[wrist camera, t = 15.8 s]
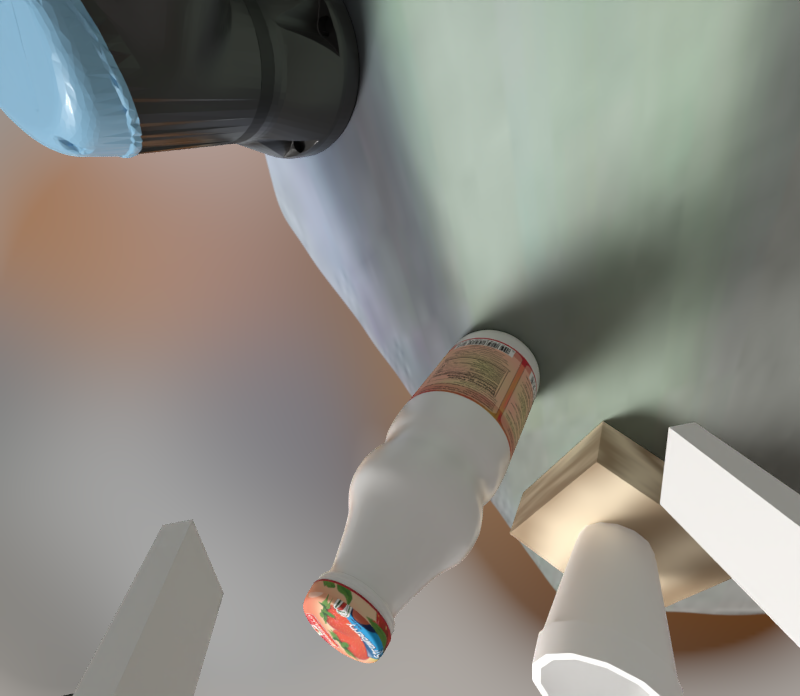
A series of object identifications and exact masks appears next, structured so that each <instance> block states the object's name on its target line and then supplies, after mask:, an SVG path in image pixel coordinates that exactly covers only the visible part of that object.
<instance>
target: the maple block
mask: <svg viewBox="0 0 800 696" xmlns="http://www.w3.org/2000/svg"><path fill="white" fill-rule="evenodd" d="M664 464H665V462H664V461H663V460H661V459H660V458H658V457H656V456H655V455H653V454H652V453H650V452H649V451H647V450H646V449H644V448H643V447H641V446H640V445H638V444H637V443H635V442H634V441H632V440H631V439H629V438H628V437H626V436H625V435H623V434H622V433H620V432H619V431H617V430H616V429H614V428H613V427H611V426H610V425H608V424H607V423H605V422H604V421H602V422H601V423H600V424H599V425H598V426H597V427H596V428H595V429H594V430H592V431H591V432H590V433H589V434H588V435H587V436H586V437H585V438H584V439H582V440H581V441H580V442H579V443H578V444H577V445H576V446H575V447H574V448H572V449H571V450H570V451H569V452H568V453H567V454H566V455H565V456H564V457H562V458H561V459H560V460H559V461H558V462H557V463H556V464H555V465H554V466H552V467H551V468H550V469H549V470H548V471H547V472H546V473H545V474H544V475H542V476H541V477H540V478H539V479H538V480H537V481H536V482H535V483H534V484H532V485H531V486H530V487H529V488H528V489H527V490H526V491H525V492H524V493H523V495H522V498H521V501H520V504H519V507H518V510H517V513H516V516H515V519H514V522H513V525H512V528H511V531H510V534H511V535H512V536H514V537H515V538H516V539H518V540H519V541H520V542H522V543H523V544H525V545H526V546H527V547H529V548H530V549H531V550H533V551H534V552H535V553H537V554H538V555H539V556H541V557H542V558H543V559H545V560H546V561H548V562H549V563H550V564H552V565H553V566H554V567H556V568H557V569H558V570H560V571H561V572H562V573H564V572H565V569H566V566H567V563H568V561H569V558H570V555H571V553H572V550H573V547H574V544H575V542H576V539H577V537H578V535H579V533H580V532H581V531H582V530H583V529H584V528H585V527H586V526H587V525H591V524H595V523H599V522H604V523H614V524H619V525H622V526H624V527H626V528H629V529H631V530H634V531H636V532H637V533H638V534H639V535H641V536H642V537H643V538H644V539H645V540H647V541H648V542H649V544H650V546H651V548H652V550H653V552H654V554H655V559H656V563H657V568H658V573H659V579H660V584H661V590H662V595H663V601H664V606H665V607H667V606H669V605H671V604H673V603H676V602H678V601H680V600H683V599H685V598H687V597H690V596H692V595H694V594H697V593H699V592H701V591H704V590H706V589H708V588H710V587H713V586H715V585H717V584H720V583H722V582H724V581H727V580H729V579H731V577H730V576H729V575H728V573H727V572H726V571H725V570H724V569H723V568H722V567H721V566H720V565H719V564H718V563H717V562H716V561H715V560H714V559H713V558H712V557H711V556H710V555H709V554H708V553H707V552H706V551H705V550H704V549H703V548H702V547H701V546H700V545H699V544H698V543H697V542H696V541H695V540H694V539H693V538H692V536H691V535H690V534H689V533H688V532H687V531H686V530H685V529H684V528H683V527H682V526H681V525H680V524H679V523H678V522H677V521H676V520H675V519H674V518H673V517H672V516H671V515H670V514H669V513H668V512H667V511H666V510H665V509H664V508H663V507H662V506H661V505H660V498H661V490H662V481H663V473H664Z"/></svg>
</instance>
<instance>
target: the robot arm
mask: <svg viewBox="0 0 800 696" xmlns="http://www.w3.org/2000/svg"><path fill="white" fill-rule="evenodd" d="M358 82H359V57H358V48H357V42H356V37H355V33H354V29H353V26H352V22H351V19H350V17H349V14H348V12H347V9H346V7H345V5H344V3H343V1H342V0H0V108H1V109H2V110H3V112H4V113H5V114H6V115H7V116H8V117H9V118H10V119H11V120H12V121H13V122H14V123H15V124H16V125H17V126H19V127H20V128H21V129H22V130H23V131H24V132H25V133H27V134H28V135H29V136H30V137H32V138H33V139H35V140H36V141H38V142H39V143H41V144H42V145H44V146H46V147H48V148H50V149H52V150H54V151H57V152H59V153H62V154H66V155H70V156H78V157H88V156H89V157H96V156H120V157H122V158H125V157H126V158H130V157H133V156H136V155H138V154H144V153H153V152H162V151H171V150H181V149H190V148H199V147H208V146H217V145H225V144H239V145H242V146H245V147H247V148H250V149H253V150H256V151H259V152H262V153H265V154H267V155H270V156H274V157H278V158H286V159H293V158H300V157H307V156H312V155H315V154H318V153H320V152H322V151H324V150H325V149H327V148H328V147H329V146H331V145H332V144H333V143H334V142H335V141H336V140H337V139H338V137H339V136H340V135H341V133H342V132H343V130H344V129H345V127H346V125H347V123H348V121H349V119H350V117H351V114H352V111H353V108H354V105H355V101H356V96H357V90H358ZM660 505H661V506H662V507H663V508H664V509H665V510H666V511H667V512H668V513H669V514H670V515H671V516H672V517H673V518H674V519H675V520H676V521H677V522H678V523H679V524H680V525H681V526H682V527H683V528H684V529H685V530H686V531H687V532H688V533H689V534H690V535H691V536H692V538H693V539H694V540H695V541H696V542H697V543H698V544H699V545H700V546H701V547H702V548H703V549H704V550H705V551H706V552H707V553H708V554H709V555H710V556H711V557H712V558H713V559H714V560H715V561H716V562H717V563H718V564H719V565H720V566H721V567H722V568H723V569H724V570H725V571H726V572H727V573H728V575H729V576H730V577H731V578H732V579H733V580H734V581H735V582H736V583H737V584H738V585H739V586H740V587H741V588H742V589H743V590H744V591H745V592H746V593H747V594H748V595H749V596H750V597H751V598H752V599H753V600H754V601H755V602H756V603H757V604H758V605H759V606H760V607H761V608H762V609H763V610H764V611H765V613H766V614H767V615H768V616H770V618H771V619H772V620H773V621H774V622H775V623H776V624H777V625H778V626H779V627H780V628H781V629H782V630H783V631H784V632H785V633H786V634H787V635H788V636H789V637H790V638H791V639H792V640H793V641H794V642H795V643H796V644H797V645H798V646H799V647H800V494H798V493H797V492H795V491H794V490H792V489H791V488H790V487H788V486H787V485H785V484H784V483H782V482H781V481H779V480H778V479H777V478H775V477H774V476H772V475H771V474H769V473H768V472H766V471H765V470H764V469H762V468H761V467H759V466H758V465H756V464H755V463H753V462H752V461H751V460H749V459H748V458H746V457H745V456H743V455H742V454H740V453H739V452H737V451H736V450H735V449H733V448H732V447H730V446H729V445H727V444H726V443H724V442H723V441H722V440H720V439H719V438H717V437H716V436H714V435H713V434H711V433H710V432H709V431H707V430H706V429H704V428H703V427H701V426H700V425H698V424H697V423H695V422H692V423H687V424H682V425H677V426H672V427H669V430H668V439H667V447H666V456H665V464H664V473H663V481H662V490H661V498H660ZM222 597H223V591H222V588H221V586H220V584H219V581H218V579H217V576H216V574H215V572H214V569H213V567H212V564H211V562H210V560H209V557H208V555H207V553H206V550H205V548H204V545H203V543H202V541H201V538H200V536H199V534H198V531H197V529H196V526H195V524H194V522H193V520H187V521H182V522H177V523H172V524H166V525H163V526H162V528H161V529H160V531H159V533H158V535H157V537H156V539H155V541H154V543H153V545H152V546H151V548H150V550H149V552H148V554H147V556H146V558H145V560H144V562H143V564H142V565H141V567H140V569H139V571H138V573H137V575H136V577H135V579H134V581H133V582H132V584H131V586H130V588H129V590H128V592H127V594H126V596H125V598H124V599H123V601H122V603H121V605H120V607H119V609H118V611H117V613H116V615H115V616H114V618H113V620H112V622H111V624H110V626H109V628H108V630H107V632H106V633H105V635H104V638H103V639H102V641H101V643H100V645H99V647H98V649H97V651H96V652H95V654H94V656H93V658H92V660H91V662H90V664H89V666H88V668H87V669H86V671H85V673H84V675H83V677H82V679H81V681H80V683H79V685H78V687H77V688H76V690H75V692H74V694H69V695H64V696H194V693H195V689H196V686H197V682H198V679H199V675H200V672H201V669H202V665H203V662H204V659H205V655H206V651H207V648H208V645H209V641H210V638H211V634H212V631H213V628H214V624H215V621H216V617H217V614H218V611H219V607H220V604H221V601H222Z"/></svg>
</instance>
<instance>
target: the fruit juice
mask: <svg viewBox="0 0 800 696" xmlns="http://www.w3.org/2000/svg"><path fill="white" fill-rule="evenodd" d="M539 382H540V373H539V367H538V364H537V361H536V359H535V357H534V355H533V354H532V352H531V351H530V350H529V348H528V347H527V346H526V345H525V344H524V343H522V342H521V341H520V340H518V339H517V338H515V337H514V336H512V335H510V334H507V333H504V332H501V331H496V330H480V331H476V332H473V333H470V334H468V335H466V336H465V337H463V338H462V339H460V340H459V341H458V342H457V343H456V344H455V345H454V346H453V347H452V349H451V350H450V351H449V352H448V353H447V355H446V356H445V357H444V358H443V360H442V361H441V362H440V363H439V365H438V366H437V367H436V368H435V369H434V371H433V372H432V373H431V374H430V376H429V377H428V378H427V379H426V381H425V382H424V383H423V384H422V385H421V387H420V388H419V389H418V390H417V392H416V393H415V394H414V395H413V397H412V398H411V399H410V400H409V401H408V403H407V404H406V405H405V406H404V407H403V409H402V410H401V411H400V413H399V414H398V415H397V417H396V418H395V420H394V422H393V423H392V425H391V427H390V429H389V431H388V434H387V437H386V442H385V443H383V444H382V445H380V446H379V447H377V448H376V449H375V450H373V451H372V452H371V453H370V454H369V455H367V457H366V458H365V459H364V460H363V462H362V463H361V464H360V466H359V467H358V469H357V471H356V472H355V474H354V476H353V479H352V482H351V485H350V491H349V514H348V519H347V523H346V526H345V530H344V533H343V536H342V539H341V543H340V546H339V549H338V552H337V555H336V558H335V561H334V564H333V566H332V568H331V570H330V571H328V572H325V573H324V574H322V575H321V576H320V577H319V579H318V580H317V581H316V582H314V584H313V585H312V587H311V589H310V590H309V592H308V594H307V596H306V598H305V600H304V606H303V608H304V612H305V615H306V617H307V619H308V621H309V622H310V624H311V625H312V627H313V628H314V629H315V630H316V631H317V633H318V634H319V635H320V636H321V637H322V638H324V640H325V641H326V642H328V643H329V644H330V645H331V646H332V647H334V648H335V649H337V650H338V651H339V652H341V653H343V654H344V655H346V656H348V657H350V658H352V659H355V660H357V661H360V662H363V663H374V662H376V661H377V660H379V658H380V657H381V656H382V655H383V653H384V651H385V650H386V648H387V646H388V645H389V642H390V640H391V635H392V633H393V632H394V625H395V623H394V618H395V616H396V615H397V614H398V613H399V612H400V611H401V610H402V609H403V608H404V607H405V606H406V605H407V604H408V603H409V602H410V601H411V600H412V599H413V598H414V597H415V596H416V595H417V594H418V593H419V592H420V591H421V590H422V589H423V588H424V587H425V586H426V585H427V584H428V583H430V582H431V581H432V580H433V579H434V578H435V577H437V576H438V575H440V574H441V573H443V572H445V571H447V570H449V569H450V568H452V567H454V566H456V565H457V564H459V563H460V562H461V561H462V560H463V559H464V558H465V557H466V556H467V555H468V554H469V552H470V551H471V549H472V547H473V545H474V543H475V541H476V540H477V537H478V535H479V532H480V529H481V524H482V516H483V506H484V505H485V504H486V503H487V502H488V501H489V500H490V499H491V498H492V497H493V496H494V494H495V493H496V491H497V489H498V488H499V486H500V484H501V482H502V480H503V478H504V476H505V474H506V471H507V469H508V466H509V463H510V460H511V458H512V455H513V453H514V450H515V448H516V445H517V443H518V440H519V438H520V435H521V433H522V430H523V427H524V425H525V422H526V420H527V417H528V415H529V412H530V410H531V407H532V405H533V402H534V400H535V397H536V395H537V392H538V388H539Z"/></svg>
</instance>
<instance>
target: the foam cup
mask: <svg viewBox="0 0 800 696" xmlns="http://www.w3.org/2000/svg"><path fill="white" fill-rule="evenodd" d="M532 680H533V682H534V683H535V685H536V687H537V688H538V690H539V691H540V693H541V694H542V696H683V688H682V686H681V685H680V683H679V681H678V677H677V672H676V666H675V661H674V656H673V650H672V645H671V639H670V634H669V628H668V623H667V617H666V612H665V606H664V601H663V595H662V590H661V584H660V579H659V573H658V568H657V563H656V559H655V554H654V552H653V550H652V548H651V546H650V544H649V542H648V541H647V540H645V539H644V538H643V537H642V536H641V535H639V534H638V533H637V532H636V531H634V530H631V529H629V528H626V527H624V526H622V525H619V524H614V523H604V522H599V523H595V524H591V525H587V526H586V527H585V528H584V529H583V530H582V531H581V532H580V533H579V535H578V537H577V539H576V542H575V544H574V547H573V550H572V553H571V555H570V558H569V561H568V563H567V566H566V569H565V572H564V574H563V577H562V580H561V583H560V585H559V588H558V591H557V593H556V597H555V599H554V602H553V604H552V607H551V610H550V612H549V615H548V619H547V621H546V623H545V626H544V629H543V630H542V631H540V632H539V635H538V640H537V644H536V649H535V654H534V658H533V663H532Z"/></svg>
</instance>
